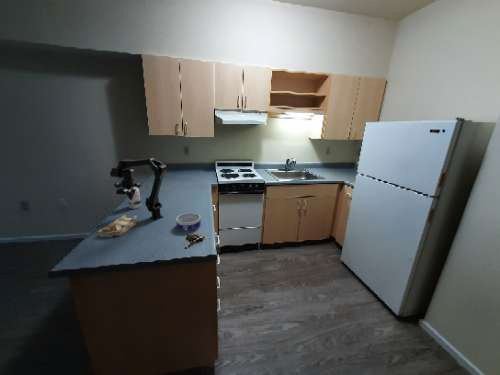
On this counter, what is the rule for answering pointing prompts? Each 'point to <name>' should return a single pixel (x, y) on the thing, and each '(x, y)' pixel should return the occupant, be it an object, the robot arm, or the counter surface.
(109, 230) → the walnut block
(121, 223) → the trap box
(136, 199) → the supplement can
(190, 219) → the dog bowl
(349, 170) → the counter surface
